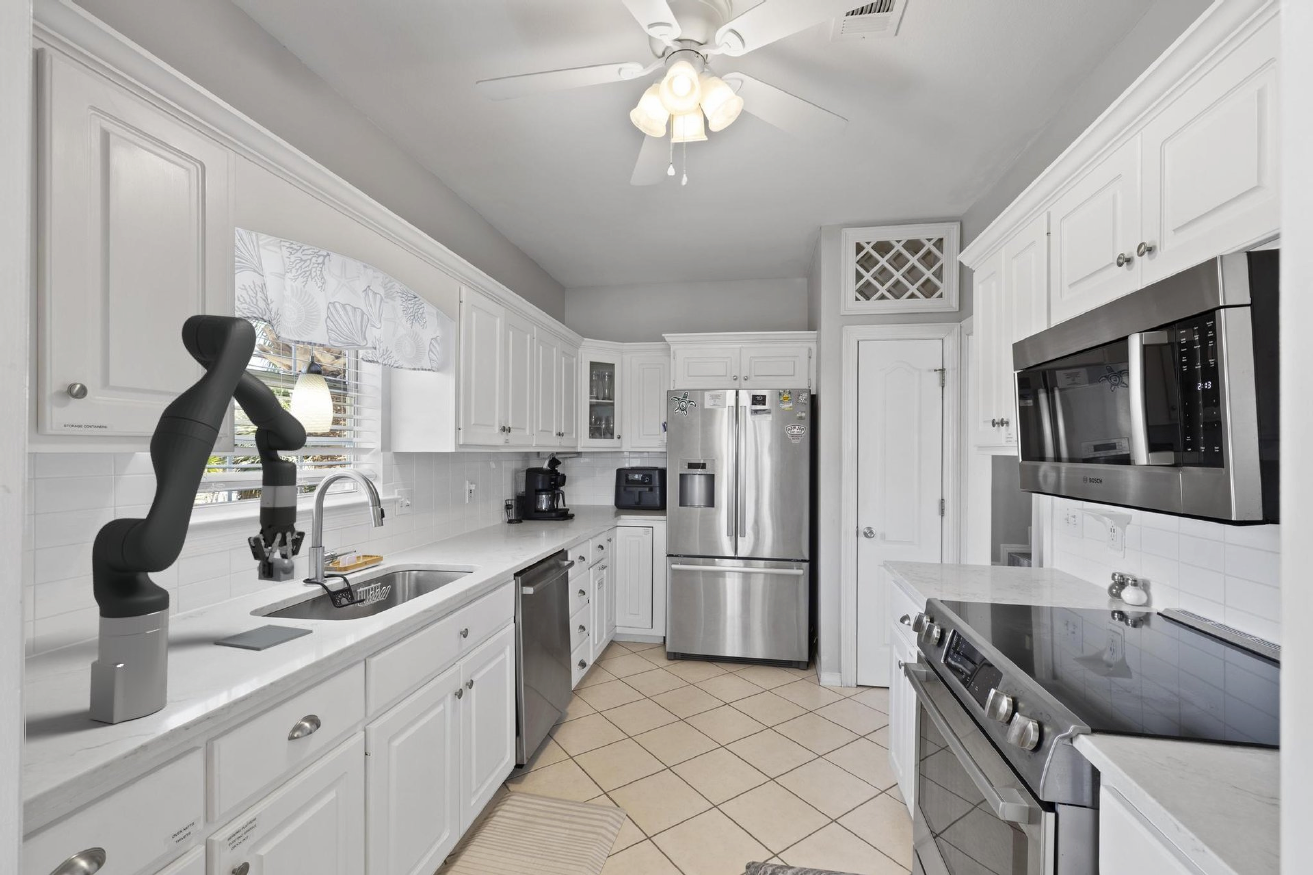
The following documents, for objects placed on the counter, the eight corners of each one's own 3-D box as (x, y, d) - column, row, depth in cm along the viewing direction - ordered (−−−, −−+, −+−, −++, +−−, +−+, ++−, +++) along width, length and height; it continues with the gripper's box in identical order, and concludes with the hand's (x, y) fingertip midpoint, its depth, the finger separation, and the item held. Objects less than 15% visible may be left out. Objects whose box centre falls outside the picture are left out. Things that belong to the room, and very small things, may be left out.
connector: (280, 581, 142) (281, 560, 142) (254, 579, 145) (255, 558, 145) (293, 579, 146) (294, 558, 146) (268, 576, 148) (269, 555, 148)
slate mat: (260, 650, 135) (260, 647, 135) (214, 643, 139) (214, 641, 139) (312, 632, 149) (312, 630, 149) (268, 626, 153) (268, 624, 153)
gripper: (263, 507, 138) (260, 583, 137) (315, 503, 151) (313, 572, 151) (238, 505, 140) (236, 580, 139) (292, 501, 153) (290, 570, 153)
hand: (276, 575), depth 145 cm, fingers closed on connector, 3 cm apart
